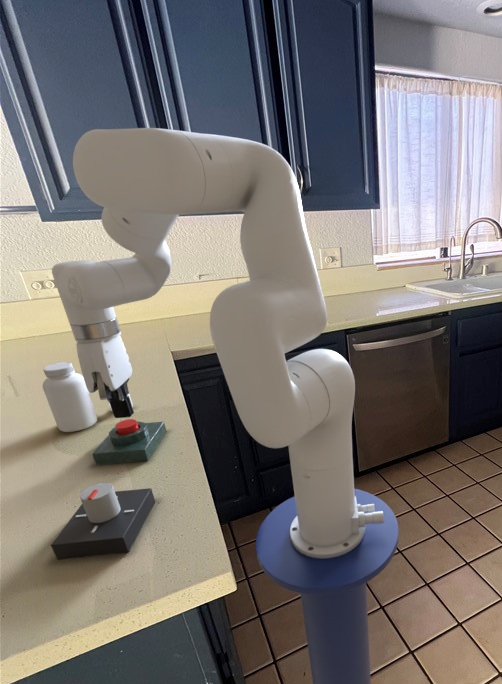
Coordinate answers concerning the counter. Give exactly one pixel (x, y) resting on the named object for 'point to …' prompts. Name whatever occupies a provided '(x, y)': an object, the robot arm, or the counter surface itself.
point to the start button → (127, 427)
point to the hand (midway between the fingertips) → (124, 415)
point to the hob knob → (100, 502)
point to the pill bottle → (68, 398)
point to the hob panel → (105, 528)
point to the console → (130, 444)
